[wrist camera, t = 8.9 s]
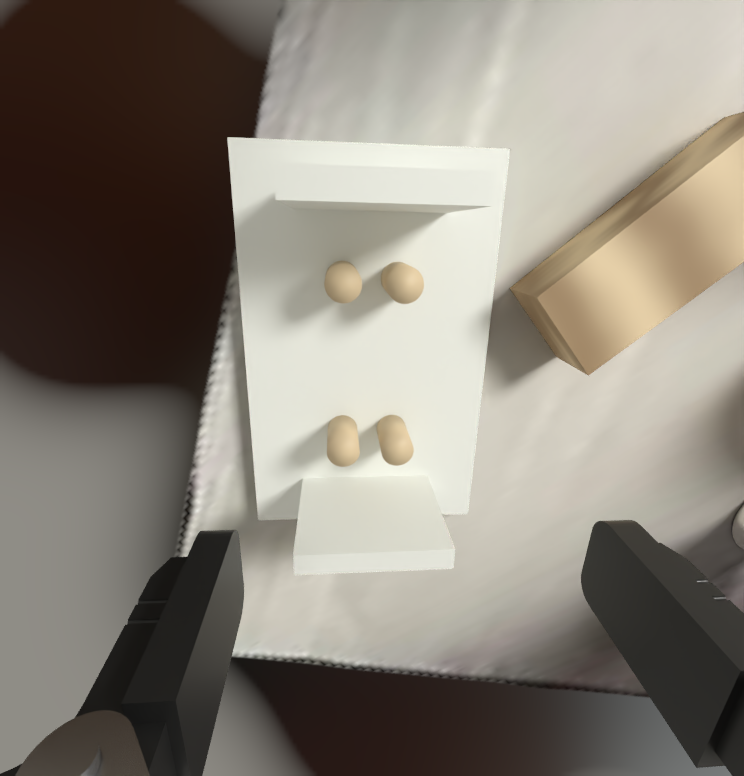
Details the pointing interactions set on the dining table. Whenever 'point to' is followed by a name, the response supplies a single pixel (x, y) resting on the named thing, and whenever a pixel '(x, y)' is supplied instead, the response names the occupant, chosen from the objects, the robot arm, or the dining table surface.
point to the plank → (644, 253)
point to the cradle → (365, 339)
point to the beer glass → (739, 528)
